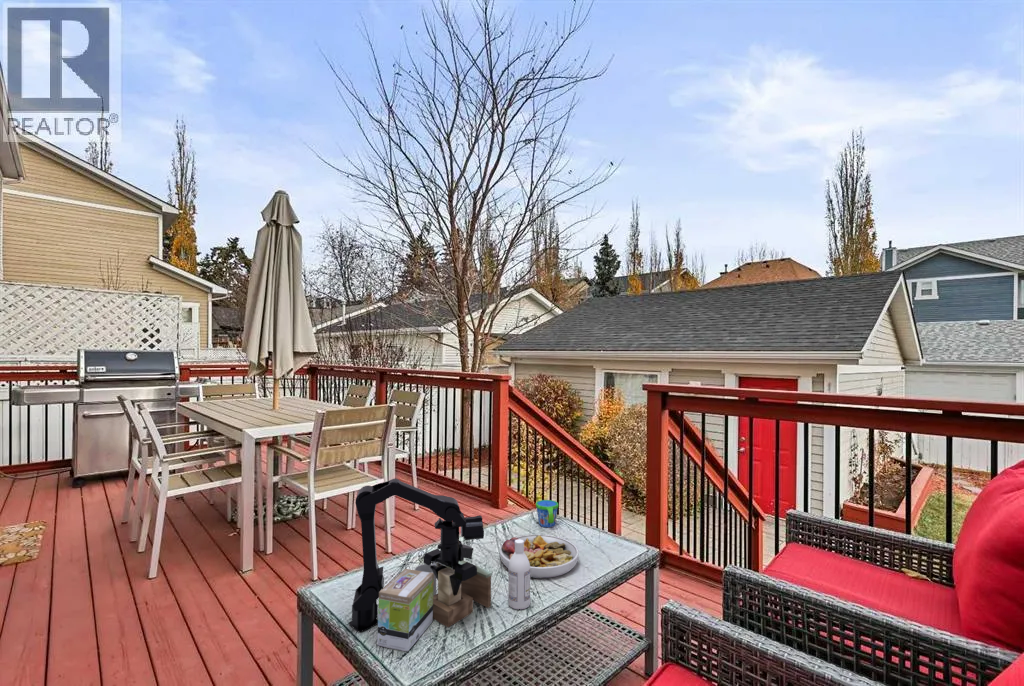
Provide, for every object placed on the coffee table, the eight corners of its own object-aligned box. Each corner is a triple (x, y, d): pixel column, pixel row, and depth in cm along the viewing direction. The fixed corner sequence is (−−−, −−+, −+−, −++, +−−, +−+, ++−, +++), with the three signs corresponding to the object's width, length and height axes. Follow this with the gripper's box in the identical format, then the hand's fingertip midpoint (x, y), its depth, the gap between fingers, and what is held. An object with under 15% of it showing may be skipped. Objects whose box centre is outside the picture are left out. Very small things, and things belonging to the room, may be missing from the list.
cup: (420, 604, 146) (420, 576, 146) (406, 591, 154) (407, 564, 154) (440, 597, 150) (440, 569, 150) (426, 585, 158) (426, 558, 158)
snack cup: (534, 519, 222) (534, 498, 222) (555, 518, 222) (555, 497, 222) (537, 531, 206) (537, 508, 206) (560, 531, 207) (560, 508, 207)
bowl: (576, 548, 190) (576, 528, 190) (580, 584, 160) (580, 561, 160) (504, 544, 192) (504, 525, 193) (495, 580, 163) (495, 557, 163)
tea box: (409, 653, 122) (409, 597, 123) (376, 646, 125) (376, 591, 125) (433, 621, 137) (434, 571, 137) (403, 616, 140) (404, 567, 140)
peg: (461, 603, 141) (461, 570, 141) (448, 610, 137) (449, 576, 138) (450, 597, 144) (450, 565, 145) (437, 604, 141) (438, 571, 141)
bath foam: (528, 598, 150) (528, 536, 151) (531, 609, 143) (531, 545, 144) (507, 599, 149) (507, 537, 150) (509, 610, 142) (509, 545, 143)
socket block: (453, 630, 132) (454, 592, 132) (420, 611, 142) (420, 576, 142) (492, 607, 145) (492, 572, 145) (459, 591, 154) (459, 558, 154)
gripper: (489, 540, 141) (489, 592, 141) (449, 526, 154) (448, 573, 153) (463, 552, 133) (463, 607, 133) (422, 536, 145) (422, 586, 145)
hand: (449, 592), depth 141 cm, fingers closed on peg, 5 cm apart
